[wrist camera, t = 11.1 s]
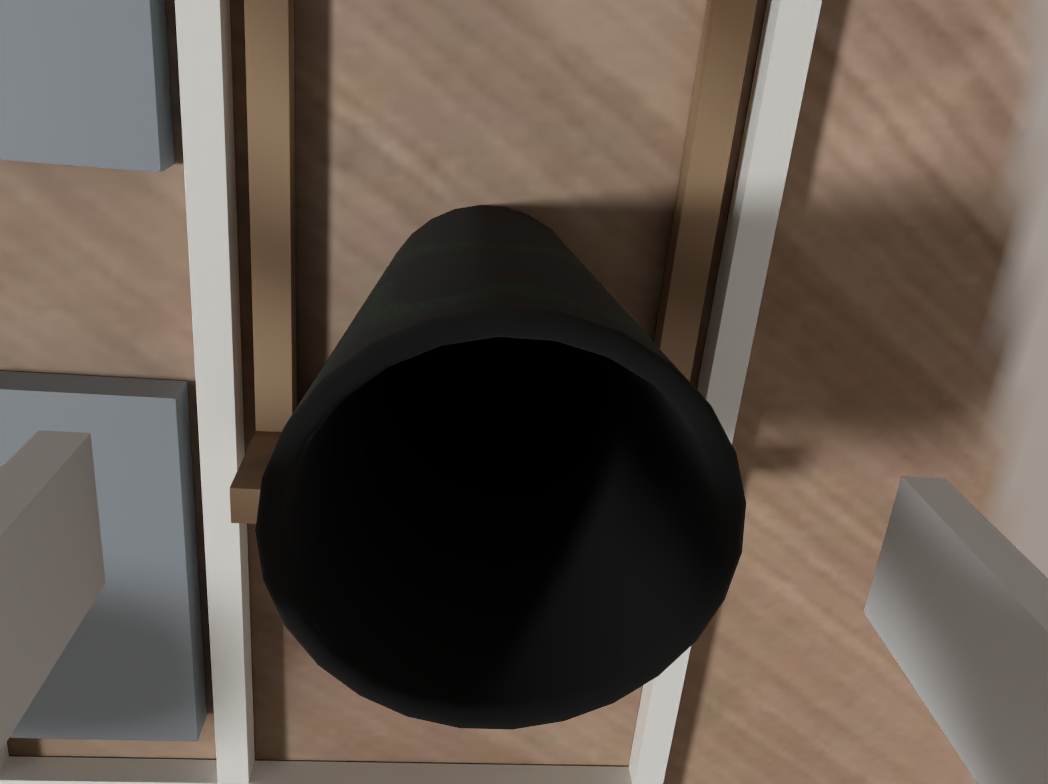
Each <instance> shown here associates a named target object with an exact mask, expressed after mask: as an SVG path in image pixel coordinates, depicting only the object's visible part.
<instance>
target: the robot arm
mask: <svg viewBox="0 0 1048 784" xmlns="http://www.w3.org/2000/svg"><path fill="white" fill-rule="evenodd" d="M105 583H106V582H105V572H104V562H103V552H102V542H101V532H100V522H99V512H98V502H97V492H96V482H95V472H94V462H93V452H92V442H91V433H82V432H63V431H44V430H39V431H38V432H37V433H36V434H35V435H34V436H33V437H32V438H31V439H30V440H29V441H28V442H27V443H26V444H25V445H24V446H23V447H22V448H21V449H20V450H19V451H18V452H17V453H16V454H15V455H14V456H13V457H12V458H11V459H10V460H9V461H8V462H7V463H6V464H4V465H3V466H2V467H1V468H0V752H1V750H2V749H3V747H4V745H5V744H6V742H7V741H8V739H9V737H10V736H11V734H12V733H13V731H14V729H15V728H16V726H17V725H18V723H19V721H20V720H21V718H22V717H23V715H24V713H25V712H26V710H27V708H28V707H29V705H30V704H31V702H32V700H33V699H34V697H35V696H36V694H37V692H38V691H39V689H40V688H41V686H42V684H43V683H44V681H45V680H46V678H47V676H48V675H49V673H50V671H51V670H52V668H53V667H54V665H55V663H56V662H57V660H58V659H59V657H60V655H61V654H62V652H63V651H64V649H65V647H66V646H67V644H68V643H69V641H70V639H71V638H72V636H73V634H74V633H75V631H76V630H77V628H78V626H79V625H80V623H81V622H82V620H83V618H84V617H85V615H86V614H87V612H88V610H89V609H90V607H91V606H92V604H93V602H94V601H95V599H96V597H97V596H98V594H99V593H100V591H101V589H102V588H103V586H104V585H105ZM864 614H865V615H866V617H867V618H868V620H869V621H870V623H871V624H872V626H873V627H874V629H875V630H876V632H877V633H878V635H879V636H880V638H881V639H882V641H883V642H884V644H885V645H886V647H887V648H888V650H889V651H890V653H891V654H892V656H893V657H894V659H895V660H896V662H897V663H898V665H899V666H900V668H901V669H902V671H903V672H904V674H905V675H906V677H907V678H908V680H909V681H910V683H911V684H912V686H913V687H914V689H915V690H916V692H917V693H918V695H919V696H920V698H921V699H922V701H923V702H924V704H925V705H926V707H927V708H928V710H929V711H930V713H931V714H932V716H933V717H934V719H935V720H936V722H937V723H938V725H939V726H940V728H941V729H942V731H943V732H944V734H945V735H946V737H947V738H948V740H949V741H950V743H951V744H952V746H953V747H954V749H955V750H956V752H957V753H958V755H959V756H960V758H961V759H962V761H963V762H964V764H965V765H966V767H967V768H968V770H969V771H970V773H971V774H972V776H973V777H974V779H975V780H976V782H977V783H978V784H1048V578H1047V577H1046V576H1045V575H1044V574H1043V573H1042V572H1041V571H1040V570H1039V569H1038V568H1036V566H1034V565H1033V564H1032V563H1031V562H1030V561H1029V560H1028V559H1027V558H1026V557H1025V556H1024V555H1023V554H1022V553H1021V552H1020V551H1019V550H1018V549H1017V548H1016V547H1015V546H1014V545H1013V544H1012V543H1011V542H1010V541H1009V540H1008V539H1007V538H1006V537H1005V536H1004V535H1003V534H1002V533H1001V532H1000V531H999V530H998V529H997V528H995V527H994V526H993V525H992V524H991V523H990V522H989V521H988V520H987V519H986V518H985V517H984V516H983V515H982V514H981V513H980V512H979V511H978V510H977V509H976V508H975V507H974V506H973V505H972V504H971V503H970V502H969V501H968V500H967V499H966V498H965V497H964V496H963V495H962V494H961V493H959V492H958V491H957V490H956V489H955V488H954V487H953V486H952V485H951V484H950V483H949V482H948V481H947V480H946V479H945V478H926V477H908V476H902V477H901V481H900V484H899V488H898V491H897V495H896V498H895V502H894V506H893V509H892V513H891V516H890V520H889V523H888V527H887V531H886V534H885V538H884V541H883V545H882V548H881V552H880V556H879V559H878V563H877V566H876V570H875V573H874V577H873V581H872V584H871V588H870V591H869V595H868V598H867V602H866V606H865V609H864Z"/></svg>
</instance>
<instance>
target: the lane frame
mask: <svg viewBox="0 0 1048 784" xmlns="http://www.w3.org/2000/svg"><path fill="white" fill-rule="evenodd" d="M821 3H822V0H767V6H766V11H765V17H764V22H763V28H762V33H761V39H760V45H759V50H758V56H757V61H756V67H755V72H754V78H753V83H752V89H751V94H750V100H749V105H748V111H747V116H746V122H745V127H744V133H743V138H742V144H741V149H740V155H739V160H738V166H737V171H736V177H735V182H734V188H733V194H732V199H731V205H730V210H729V216H728V221H727V227H726V232H725V238H724V243H723V249H722V254H721V260H720V265H719V271H718V276H717V282H716V287H715V293H714V298H713V304H712V309H711V315H710V320H709V326H708V331H707V337H706V343H705V348H704V354H703V359H702V365H701V370H700V376H699V381H698V387H697V390H698V391H699V393H700V394H701V395H702V396H703V397H704V398H705V399H706V400H707V401H708V402H709V404H710V405H711V406H712V408H713V409H714V411H715V413H716V415H717V417H718V419H719V421H720V423H721V425H722V427H723V429H724V431H725V433H726V435H727V436H728V438H729V440H730V442H731V444H732V442H733V437H734V432H735V427H736V422H737V417H738V412H739V407H740V403H741V398H742V393H743V388H744V383H745V378H746V373H747V368H748V363H749V358H750V353H751V348H752V343H753V338H754V334H755V329H756V324H757V319H758V314H759V309H760V304H761V299H762V294H763V289H764V284H765V279H766V274H767V269H768V265H769V260H770V255H771V250H772V245H773V240H774V235H775V230H776V225H777V220H778V215H779V210H780V205H781V200H782V196H783V191H784V186H785V181H786V176H787V171H788V166H789V161H790V156H791V151H792V146H793V141H794V136H795V132H796V127H797V122H798V117H799V112H800V107H801V102H802V97H803V92H804V87H805V82H806V77H807V72H808V67H809V63H810V58H811V53H812V48H813V43H814V38H815V33H816V28H817V23H818V18H819V13H820V8H821ZM175 14H176V32H177V50H178V68H179V87H180V105H181V123H182V141H183V159H184V178H185V196H186V214H187V232H188V250H189V269H190V287H191V305H192V323H193V342H194V360H195V378H196V396H197V414H198V433H199V451H200V469H201V487H202V505H203V524H204V542H205V560H206V578H207V597H208V615H209V633H210V651H211V669H212V688H213V706H214V724H215V742H216V760H193V759H134V758H74V757H14V756H9V753H8V747H7V742H6V744H5V745H4V747H3V749H2V750H1V752H0V784H663V782H664V777H665V772H666V767H667V762H668V757H669V752H670V747H671V743H672V738H673V733H674V728H675V723H676V718H677V713H678V708H679V703H680V698H681V693H682V688H683V683H684V678H685V674H686V669H687V664H688V659H689V654H690V649H691V646H690V647H689V648H688V649H687V650H686V651H685V652H684V653H683V654H682V655H681V656H679V657H678V658H677V659H676V660H675V661H674V662H673V663H672V664H671V665H670V666H669V667H668V668H667V669H665V670H664V671H663V672H662V673H661V674H660V675H659V676H658V677H656V678H654V679H653V680H651V681H649V682H648V683H646V684H644V685H643V690H642V696H641V701H640V707H639V712H638V718H637V723H636V729H635V734H634V740H633V745H632V751H631V756H630V762H629V767H612V766H552V765H492V764H433V763H373V762H313V761H255V751H254V721H253V691H252V660H251V630H250V600H249V569H248V539H247V524H245V523H231V510H230V486H231V484H232V482H233V480H234V477H235V475H236V473H237V471H238V469H239V466H240V464H241V462H242V460H243V458H244V456H245V448H244V418H243V388H242V357H241V327H240V297H239V267H238V236H237V206H236V176H235V146H234V115H233V85H232V55H231V24H230V0H175ZM39 430H44V431H63V432H82V433H91V442H92V452H93V462H94V472H95V482H96V492H97V502H98V512H99V522H100V532H101V542H102V552H103V562H104V572H105V582H106V583H105V585H104V586H103V588H102V589H101V591H100V593H99V594H98V596H97V597H96V599H95V601H94V602H93V604H92V606H91V607H90V609H89V610H88V612H87V614H86V615H85V617H84V618H83V620H82V622H81V623H80V625H79V626H78V628H77V630H76V631H75V633H74V634H73V636H72V638H71V639H70V641H69V643H68V644H67V646H66V647H65V649H64V651H63V652H62V654H61V655H60V657H59V659H58V660H57V662H56V663H55V665H54V667H53V668H52V670H51V671H50V673H49V675H48V676H47V678H46V680H45V681H44V683H43V684H42V686H41V688H40V689H39V691H38V692H37V694H36V696H35V697H34V699H33V700H32V702H31V704H30V705H29V707H28V708H27V710H26V712H25V713H24V715H23V717H22V718H21V720H20V721H19V723H18V725H17V726H16V728H15V729H14V731H13V733H12V734H11V736H10V737H9V738H47V739H100V740H154V741H198V739H199V736H200V733H201V730H202V727H203V724H204V721H205V719H206V716H207V705H206V688H205V671H204V654H203V637H202V620H201V603H200V586H199V569H198V552H197V535H196V518H195V501H194V484H193V467H192V450H191V433H190V416H189V399H188V382H187V381H175V380H157V379H139V378H122V377H104V376H86V375H68V374H50V373H33V372H15V371H0V468H1V467H2V466H3V465H4V464H6V463H7V462H8V461H9V460H10V459H11V458H12V457H13V456H14V455H15V454H16V453H17V452H18V451H19V450H20V449H21V448H22V447H23V446H24V445H25V444H26V443H27V442H28V441H29V440H30V439H31V438H32V437H33V436H34V435H35V434H36V433H37V432H38V431H39Z"/></svg>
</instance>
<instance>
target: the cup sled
mask: <svg viewBox="0 0 1048 784" xmlns="http://www.w3.org/2000/svg"><path fill="white" fill-rule="evenodd" d="M756 5H757V0H707V6H706V13H705V19H704V25H703V32H702V38H701V44H700V51H699V57H698V63H697V70H696V76H695V83H694V89H693V95H692V102H691V108H690V114H689V121H688V127H687V133H686V140H685V146H684V153H683V159H682V165H681V172H680V178H679V184H678V191H677V197H676V203H675V210H674V216H673V222H672V229H671V235H670V242H669V248H668V254H667V261H666V267H665V273H664V280H663V286H662V292H661V299H660V305H659V311H658V318H657V324H656V331H655V337H654V343H655V344H656V345H657V346H658V348H659V349H660V350H661V351H662V352H663V353H664V354H665V355H666V356H667V357H668V358H669V360H670V361H671V362H672V363H673V364H674V365H675V366H676V367H677V368H678V369H679V371H680V372H681V373H682V374H683V375H684V376H685V377H686V378H687V379H688V380H689V382H690V378H691V372H692V366H693V361H694V355H695V349H696V344H697V338H698V333H699V327H700V321H701V316H702V310H703V304H704V299H705V293H706V287H707V282H708V276H709V270H710V265H711V259H712V254H713V248H714V242H715V237H716V231H717V225H718V220H719V214H720V208H721V203H722V197H723V191H724V186H725V180H726V174H727V169H728V163H729V158H730V152H731V146H732V141H733V135H734V129H735V124H736V118H737V112H738V107H739V101H740V95H741V90H742V84H743V79H744V73H745V67H746V62H747V56H748V50H749V45H750V39H751V33H752V28H753V22H754V16H755V11H756ZM244 19H245V56H246V93H247V129H248V166H249V202H250V239H251V275H252V312H253V349H254V385H255V422H256V432H255V434H254V436H253V438H252V440H251V442H250V445H249V447H248V449H247V451H246V453H245V456H244V458H243V460H242V462H241V464H240V466H239V469H238V471H237V473H236V475H235V477H234V480H233V482H232V484H231V486H230V510H231V523H245V524H256V521H257V513H258V505H259V497H260V489H261V481H262V477H263V474H264V472H265V470H266V467H267V465H268V463H269V460H270V458H271V456H272V453H273V451H274V449H275V447H276V444H277V442H278V440H279V437H280V435H281V433H282V430H283V428H284V426H285V425H286V423H287V422H288V420H289V419H290V417H291V415H292V414H293V412H294V411H295V409H296V408H297V361H296V228H295V94H294V0H244Z"/></svg>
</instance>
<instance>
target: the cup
mask: <svg viewBox="0 0 1048 784" xmlns="http://www.w3.org/2000/svg"><path fill="white" fill-rule="evenodd" d="M745 509H746V501H745V496H744V490H743V485H742V480H741V475H740V470H739V465H738V460H737V455H736V452H735V450H734V448H733V446H732V444H731V442H730V440H729V438H728V436H727V435H726V433H725V431H724V429H723V427H722V425H721V423H720V421H719V419H718V417H717V415H716V413H715V411H714V409H713V408H712V406H711V405H710V404H709V402H708V401H707V400H706V399H705V398H704V397H703V396H702V395H701V394H700V393H699V391H698V390H697V389H696V388H695V387H694V386H693V385H692V384H691V383H690V382H689V380H688V379H687V378H686V377H685V376H684V375H683V374H682V373H681V372H680V371H679V369H678V368H677V367H676V366H675V365H674V364H673V363H672V362H671V361H670V360H669V358H668V357H667V356H666V355H665V354H664V353H663V352H662V351H661V350H660V349H659V348H658V346H657V345H656V344H655V343H654V342H653V341H652V340H651V339H650V338H649V337H648V335H647V334H646V333H645V332H644V331H643V330H642V329H641V328H640V327H639V326H638V324H637V323H636V322H635V321H634V320H633V319H632V318H631V317H630V316H629V315H628V313H627V312H626V311H625V310H624V309H623V308H622V307H621V306H620V305H619V304H618V302H617V301H616V300H615V299H614V298H613V297H612V296H611V295H610V294H609V293H608V292H607V290H606V289H605V288H604V287H603V286H602V285H601V284H600V283H599V282H598V281H597V279H596V278H595V277H594V276H593V275H592V274H591V273H590V272H589V271H588V270H587V268H586V267H585V266H584V265H583V264H582V263H581V262H580V261H579V260H578V259H577V257H576V256H575V255H574V254H573V253H572V252H571V251H570V250H569V249H568V248H567V246H566V245H565V244H564V243H563V242H562V241H561V240H560V239H559V238H558V237H557V236H556V235H555V234H554V233H553V232H552V230H551V229H550V228H548V227H546V226H545V225H543V224H542V223H540V222H539V221H537V220H535V219H534V218H532V217H531V216H529V215H526V214H524V213H521V212H518V211H515V210H512V209H509V208H506V207H495V206H483V205H478V206H472V207H466V208H460V209H454V210H452V211H450V212H447V213H445V214H443V215H440V216H438V217H435V218H433V219H431V220H430V221H429V222H427V223H426V224H425V225H423V226H422V227H421V228H419V229H418V230H417V231H415V232H414V233H413V234H412V235H411V236H410V237H409V238H408V240H407V241H406V242H405V243H404V245H403V246H402V247H401V248H400V250H399V251H398V252H397V253H396V255H395V256H394V258H393V260H392V261H391V263H390V264H389V266H388V267H387V269H386V270H385V272H384V273H383V275H382V277H381V278H380V280H379V281H378V283H377V284H376V286H375V287H374V289H373V290H372V292H371V293H370V295H369V297H368V298H367V300H366V301H365V303H364V304H363V306H362V307H361V309H360V310H359V312H358V314H357V315H356V317H355V318H354V320H353V321H352V323H351V324H350V326H349V327H348V329H347V331H346V332H345V334H344V335H343V337H342V338H341V340H340V341H339V343H338V344H337V346H336V348H335V349H334V351H333V352H332V354H331V355H330V357H329V358H328V360H327V361H326V363H325V364H324V366H323V368H322V369H321V371H320V372H319V374H318V375H317V377H316V378H315V380H314V381H313V383H312V385H311V386H310V388H309V389H308V391H307V392H306V394H305V395H304V397H303V398H302V400H301V402H300V403H299V405H298V406H297V408H296V409H295V411H294V412H293V414H292V415H291V417H290V419H289V420H288V422H287V423H286V425H285V426H284V428H283V430H282V433H281V435H280V437H279V440H278V442H277V444H276V447H275V449H274V451H273V453H272V456H271V458H270V460H269V463H268V465H267V467H266V470H265V472H264V474H263V477H262V481H261V489H260V497H259V505H258V513H257V521H256V529H255V531H256V537H257V543H258V549H259V555H260V561H261V567H262V573H263V579H264V582H265V584H266V587H267V589H268V591H269V593H270V595H271V597H272V599H273V601H274V603H275V606H276V608H277V610H278V612H279V614H280V616H281V618H282V620H283V622H284V625H285V626H286V628H287V629H288V630H289V631H290V632H291V634H292V635H293V636H294V637H295V638H296V639H297V641H298V642H299V643H300V644H301V645H302V647H303V648H304V649H305V650H306V651H307V652H308V654H309V655H310V656H311V657H312V658H313V660H314V661H315V662H316V663H317V664H318V665H319V666H320V667H322V668H323V669H324V670H326V671H327V672H328V673H330V674H331V675H332V676H334V677H335V678H337V679H338V680H339V681H341V682H342V683H343V684H345V685H346V686H348V687H349V688H350V689H352V690H353V691H354V692H356V693H357V694H358V695H360V696H362V697H365V698H367V699H369V700H371V701H374V702H376V703H378V704H380V705H383V706H385V707H387V708H389V709H392V710H394V711H396V712H398V713H401V714H403V715H405V716H408V717H412V718H417V719H422V720H426V721H431V722H435V723H440V724H444V725H449V726H453V727H458V728H482V729H517V728H523V727H529V726H536V725H542V724H548V723H554V722H560V721H565V720H568V719H570V718H573V717H576V716H579V715H582V714H584V713H587V712H590V711H593V710H595V709H598V708H601V707H604V706H606V705H609V704H612V703H614V702H616V701H618V700H619V699H621V698H623V697H624V696H626V695H628V694H629V693H631V692H633V691H634V690H636V689H638V688H639V687H641V686H643V685H644V684H646V683H648V682H649V681H651V680H653V679H654V678H656V677H658V676H659V675H660V674H661V673H662V672H663V671H664V670H665V669H667V668H668V667H669V666H670V665H671V664H672V663H673V662H674V661H675V660H676V659H677V658H678V657H679V656H681V655H682V654H683V653H684V652H685V651H686V650H687V649H688V648H689V647H690V646H691V645H692V644H693V643H695V642H696V641H697V639H698V638H699V636H700V635H701V633H702V632H703V630H704V629H705V627H706V626H707V624H708V623H709V621H710V620H711V619H712V617H713V616H714V614H715V613H716V611H717V610H718V608H719V607H720V605H721V604H722V602H723V601H724V599H725V597H726V594H727V591H728V589H729V586H730V583H731V580H732V578H733V575H734V572H735V570H736V567H737V564H738V561H739V559H740V556H741V553H742V543H743V532H744V520H745Z"/></svg>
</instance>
